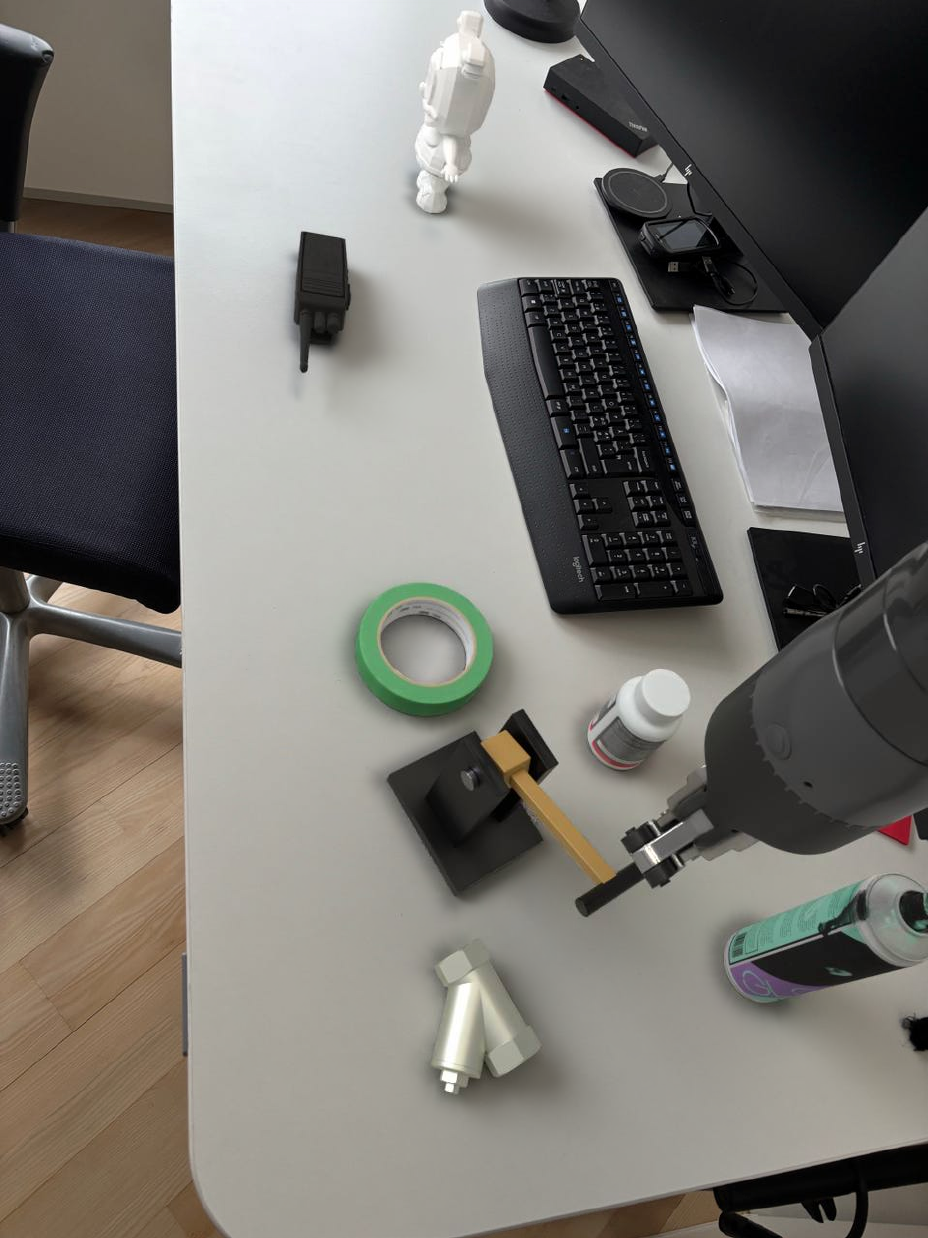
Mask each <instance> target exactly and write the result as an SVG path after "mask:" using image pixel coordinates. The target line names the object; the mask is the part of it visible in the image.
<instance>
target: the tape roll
mask: <svg viewBox="0 0 928 1238" xmlns="http://www.w3.org/2000/svg"><path fill="white" fill-rule="evenodd" d="M480 611H481V610H479V609H478V607H476V605H474V603H472V602H471V601H470V599H468V598H466V597H465V596H464V595H462V594H461V593H459V592H458V591H455V590H453V589H451V588H449V587H446V586H443V585H440V584H437V583H430V582H410V583H405V584H400V585H397V586H394V587H391V588H389V589H388V590H385V591H384V592H382V593H381V594H380V595H379V596H377V597H376V598H375V599H374V600H373V601H372V602H371V603H370V604H369V606H368V607H367V609H366V610H365V612H364V614H363V617H362V619H361V622H360V625H359V627H358V632H357V635H356V639H355V646H354V647H355V648H354V657H355V663H356V667H357V670H358V672H359V675H360V677H361V679H362V681H363V682H364V683H365V685H366V687H367V688H368V690H369V691H370V692H371V693H372V694H373V695H374V696H375V697H376V698H378V699H379V701H380V702H382V703H384V704H385V705H387V706H388V707H390V708H392V709H394V710H396V711H398V712H402V713H404V714H408V715H412V716H417V717H418V716H419V717H434V716H440V715H444V714H445V715H446V714H448V713H450V712H454V711H456V710H457V709H458V710H459V708H461V707H463V706H464V705H465V704H467V703H468V702H469V701H470V700H471V699H472V698H473V697H474V695H476V693H477V692H478V690H479V689H480V688H481V686H482V684H483V683H484V681H485V679H486V678H487V676H488V674H489V672H490V669H491V667H492V662H493V659H494V658H493V657H494V641H493V636H492V632H491V630H490V626H489V624H488V621H487V620H486V618H485V617H484V615H483V614H482V612H480ZM410 615H411V616H412V615H422V616H429V617H433V618H435V619H436V620H439V621H442V622H443V623H445V624H446V625H448V626H449V627H450V628H451V629H452V630H453V631H454V632H455V633H456V634H457V635H458V637H459V638H460V640H461V642H462V644H463V648H464V651H465V655H466V656H465V658H466V661H465V668H464V670H462V672H460V674H458V675H457V676H456V677H454V678H451V679H450V680H447V681H445V682H439V683H428V682H427V683H426V682H422V681H421V682H420V681H416V680H414V679H412V678H409V677H407V676H405V675H404V674H403V673H401V672H400V671H399V670H398V669H396V668H394V667H393V665H392V664H391V663H390V662H389V661H388V659H387V657H386V655H385V652H384V651H383V648H382V642H381V635H382V632H383V631H384V629H386V628H387V626H389V625H390V623H391V624H392V622H394V621H396V620H398V619H399V618H402V617H406V616H410Z"/></svg>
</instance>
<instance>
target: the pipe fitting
mask: <svg viewBox="0 0 928 1238" xmlns="http://www.w3.org/2000/svg"><path fill="white" fill-rule="evenodd" d="M490 960H491V954H490V953H489V952H488V950H487V948H486V946H485V944H484V942H483V940H482V939H481V938H475V939H474V940H472V941H471V942H469V943H468V944H466V945H464V946H462V947H461V948H459V949H458V950H456V951H455V952H453V953H452V954H450V955H448V956H447V957H445V958H444V959H442V960H441V961H440V962H438V963H437V964H435V965H434V971H435V973H436V974H437V976H438V978H439V981H440V982H441V984H442V986H443V987H444V988H447V989H448V990H447V994H446V999H445V1002H444V1007H443V1011H442V1016H441V1020H440V1024H439V1029H438V1033H437V1037H436V1040H435V1041H436V1042H435V1046H434V1051H433V1055H432V1059H431V1063H430V1064H431V1067H433V1068H435V1069H438V1070H441V1071H440V1075H439V1082H442V1083H445V1085H444V1088H443V1089H444V1092H447V1093H450V1094H454V1095H458V1094H459V1091H460V1088H467V1087H468V1083H469V1078H471V1079H477V1080H479V1079H481V1076H482V1071H483V1067H484V1063H485V1064H486V1065H487V1068H488V1069H489V1071H490V1073H491V1075H492V1076H493V1077H495V1078H500V1077H502V1076H504V1075H506V1074H508V1073H509V1072H511V1071H513V1070H514V1069H515V1068H517V1067H518V1066H520V1065H522V1064H523V1063H524V1062H526V1061H527V1060H529V1059H530V1058H531V1057H532V1056H534V1055H535V1054H536V1053H538V1051H540V1049H541V1047H542V1043H541V1041H540V1040H539V1038H538V1037H537V1035H536V1033H535V1031H534V1029H533V1028H532V1026H530V1025H526V1023H525V1021H524V1019H523V1018H522V1016H521V1014H520V1012H519V1011H518V1008H517V1007H516V1005H515V1004H514V1002H513V1000H512V998H511V997H510V994H509V993H508V991H507V989H506V988H505V986H504V984H503V983H502V981H501V979H500V977H499V976H498V973H497V972H496V970H495V968H494V967H493V965H492V963H491V961H490Z"/></svg>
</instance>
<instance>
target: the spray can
mask: <svg viewBox="0 0 928 1238" xmlns="http://www.w3.org/2000/svg"><path fill="white" fill-rule="evenodd" d="M926 961H928V889H927V888H926V887H925V886H924V885H923V884H922V883H921V882H919V881H918V880H917V879H915V878H913V877H912V876H910V875H908V874H905V873H902V872H897V871H891V872H885V873H878V874H875V875H873V876H870V877H867V878H864V879H861V880H860V881H857V882H854V883H852V884H850V885H847V886H845V887H842V888H839V889H837V890H835V891H831V892H830V893H827V894H825V895H822V896H820V897H817V898H815V899H812V900H810V901H807V902H805V903H803V904H800V905H797V906H795V907H792V908H790V909H787V910H785V911H783V912H780V913H778V914H775V915H772V916H770V917H768V918H765V919H762V920H760V921H757V922H754V923H752V924H751V925H748V926H746V927H743V928H740V929H738V930H737V931H735V932H733V933H732V935H731V936H730V937H729V938H728V940H727V942H726V944H725V947H724V949H723V964H724V969H725V973H726V975H727V978H728V980H729V982H730V983H731V985H732V986H733V987H734V989H735V990H736V991H737V992H738V993H739V994H740V995H741V996H743V997H744V998H746V999H747V1000H749V1001H752V1002H754V1003H757V1004H766V1003H774V1002H777V1001H781V1000H785V999H790V998H794V997H797V996H801V995H806V994H809V993H813V992H817V991H821V990H825V989H829V988H833V987H836V986H841V985H844V984H849V983H852V982H856V981H861V980H864V979H868V978H871V977H876V976H880V975H883V974H888V973H892V972H896V971H899V970H904V969H907V968H911V967H915V966H917V965H921V964H922V963H925V962H926Z"/></svg>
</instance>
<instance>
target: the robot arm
mask: <svg viewBox="0 0 928 1238" xmlns="http://www.w3.org/2000/svg"><path fill="white" fill-rule="evenodd" d="M703 753H704V764H702V765H700V766H699V767H698V768H696V769H695V770H694V771H692V772H691V773H690V774H689V775H687V777H686V784H685V785H683V786H681V788H679V789H678V790H676V791H675V792H674V793H673V794H671V795H670V796H669V797H667V799H666V804H667V807H668V808H667V809H665V810H663V811H662V812H661V813H659V814H660V817H658V818H656V819H655V818H652V819H651V820H649V821H648V820H647V821H645V822H644V823H642V824H640V825H639V826H638V827H637V828H636V827H635V826H632V827H631V828H630V829H628V830H626V831H625V832H624V834H625V836H624V837H623V838H621V839H619V841H620V842H621V844H622V846H623V847H624V848H625V850H626V852H627V853H628V854H629V856H630V858H631V859H632V862H633V861H634V862H635V864H636V865H637V867H638V868H639V870H640V871H641V873H644V874H643V876H644V877H645V879H644V880H646V882H647V884H648V885H649V887H650V888H651V890H653V889H655V888H657V887H658V886H659V887H660V888H663V887H665V886H666V885H668V884H669V883H671V878H672V877H674V876H675V875H676V874H677V873H679V872H681V870H683V869H684V868H685V867H686V865H687V864H686V862H688V861H690V860H691V862H694V861H696V860H697V859H699V858H700V857H702V858H703V859H704V860H705V861H708V862H711V861H713V860H715V859H717V858H718V857H721V856H723V855H724V854H726V853H728V852H730V851H732V850H733V851H735V852H736V853H737V852H738V853H741V852H743V851H745V850H747V849H749V848H750V847H752V846H754V845H755V844H758V843H759V842H761V843H763V844H765V845H767V846H770V847H771V848H774V849H776V850H779V851H781V852H785V853H789V854H793V855H802V856H803V855H804V856H817V855H822V854H826V853H827V854H828V853H830V852H831V853H832V852H834V851H835V850H838V849H840V848H842V847H844V846H847V845H849V844H851V843H853V842H855V841H858V840H859V839H862V838H864V837H866V836H869V835H870V834H873V833H875V832H877V831H880V830H881V829H884V828H885V827H889V826H890V825H893V824H895V823H897V822H899V821H902V820H903V819H905V818H907V817H910V816H911V815H914V814H916V813H918V812H920V811H923V810H925V809H927V808H928V539H926V540H925V541H924V542H922V543H921V544H919V545H917V546H916V547H915V548H914V549H912V550H911V551H910V552H909V553H907V554H906V555H904V556H903V557H902V558H901V559H900V560H898V561H897V562H896V563H895V564H894V565H892V566H891V567H890V568H889V569H888V570H886V571H885V572H884V573H883V574H881V576H879V577H878V578H877V579H876V580H874V581H873V582H872V583H871V584H869V585H868V586H867V587H866V588H865V589H864V590H862V591H861V592H860V593H858V595H857V596H855V597H854V598H852V599H851V600H850V601H848V602H847V603H846V604H844V605H842V606H841V607H839V608H837V609H836V610H833V611H831V612H830V613H829V614H827V615H825V616H823V617H821V618H820V619H818V620H817V621H815V622H814V623H812V624H811V625H809V627H807V628H805V630H803V631H802V632H801V633H800V634H798V635H797V636H796V637H795V638H794V639H792V641H790V642H789V643H787V645H785V646H784V647H783V648H781V650H780V651H778V652H777V653H776V654H775V655H774V656H772V657H771V658H770V659H769V660H768V661H766V662H765V663H764V664H762V666H760V667H759V668H758V669H757V670H756V671H754V672H753V673H752V674H751V675H750V676H748V677H747V679H745V680H744V681H743V682H742V683H741V684H740V685H738V686H737V687H736V688H735V689H733V690H732V691H731V692H730V693H728V694H727V696H725V697H723V699H722V700H721V701H720V702H719V703H718V705H717V706H716V707H715V709H714V711H712V713H711V715H710V718H709V720H708V722H707V726H706V729H705V734H704V744H703Z"/></svg>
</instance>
